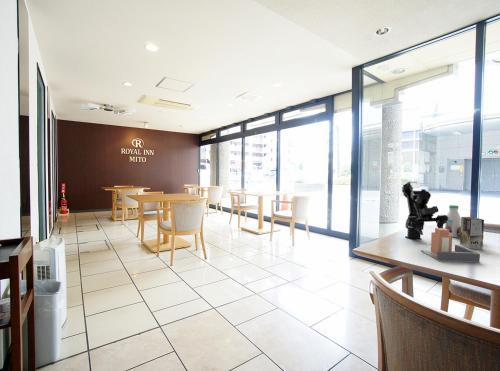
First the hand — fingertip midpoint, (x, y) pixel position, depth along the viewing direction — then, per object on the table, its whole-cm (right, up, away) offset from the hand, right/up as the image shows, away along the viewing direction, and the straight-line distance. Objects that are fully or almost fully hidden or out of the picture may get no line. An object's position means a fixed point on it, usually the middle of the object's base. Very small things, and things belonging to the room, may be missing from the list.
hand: (432, 234), depth 134 cm
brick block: (-1, -8, -8) cm, 11 cm away
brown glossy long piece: (+36, -8, +19) cm, 41 cm away
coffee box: (+27, -9, +8) cm, 29 cm away
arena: (+1, -9, -9) cm, 13 cm away
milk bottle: (+35, -7, +31) cm, 47 cm away
